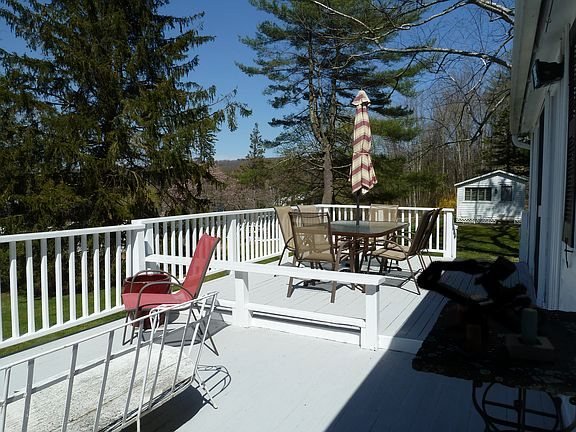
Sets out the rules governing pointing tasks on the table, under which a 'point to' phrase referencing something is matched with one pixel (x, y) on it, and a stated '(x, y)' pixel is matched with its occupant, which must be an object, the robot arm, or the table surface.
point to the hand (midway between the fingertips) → (524, 329)
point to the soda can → (460, 312)
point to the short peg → (474, 338)
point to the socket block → (530, 349)
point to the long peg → (529, 326)
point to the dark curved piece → (540, 312)
